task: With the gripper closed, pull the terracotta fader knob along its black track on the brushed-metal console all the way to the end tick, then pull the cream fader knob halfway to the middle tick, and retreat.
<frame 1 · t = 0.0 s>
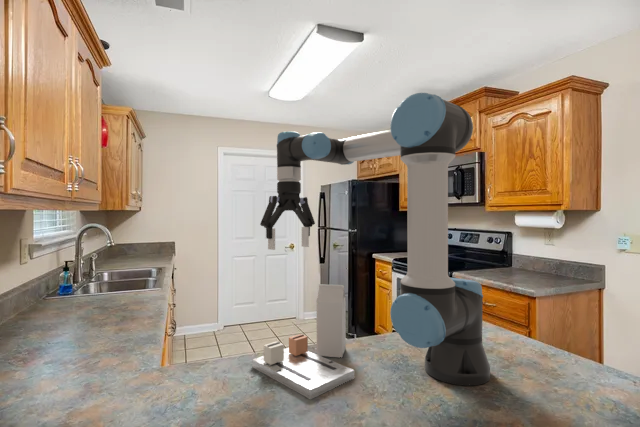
hand: (289, 248, 116), 28 cm above the countertop, fingers open, 13 cm apart
console: (301, 372, 89), on the countertop
fader b: (273, 352, 91), point 4 cm above the countertop, slide at 0.0 cm
fader a: (298, 344, 96), point 4 cm above the countertop, slide at 0.0 cm
milk carton: (331, 353, 102), on the countertop
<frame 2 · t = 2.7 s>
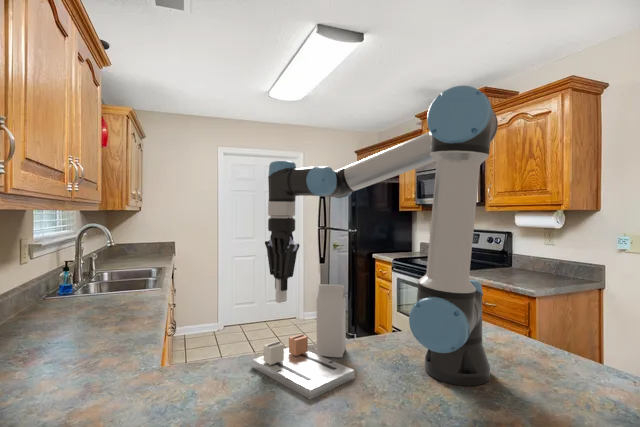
hand: (281, 301, 101), 14 cm above the countertop, fingers closed
nothing on the countertop moved.
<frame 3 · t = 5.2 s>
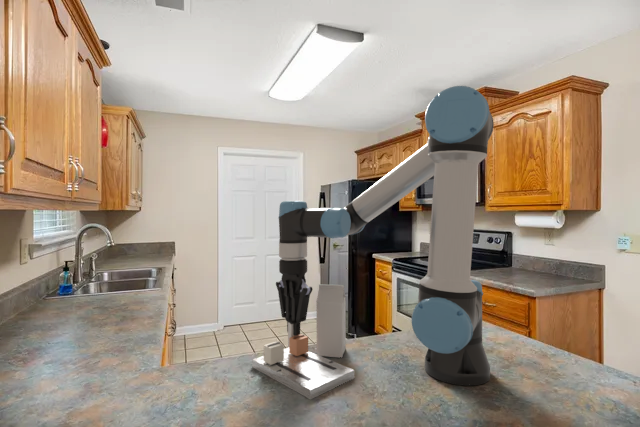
hand: (293, 345, 98), 3 cm above the countertop, fingers closed
fader a: (298, 344, 96), point 4 cm above the countertop, slide at 0.3 cm, touching gripper
everything else where it was.
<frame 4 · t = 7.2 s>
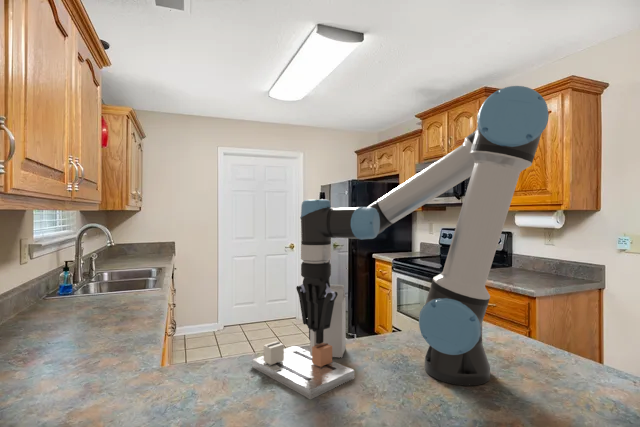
hand: (316, 354, 91), 4 cm above the countertop, fingers closed
fader a: (322, 353, 90), point 4 cm above the countertop, slide at 9.2 cm, touching gripper
everything else where it was.
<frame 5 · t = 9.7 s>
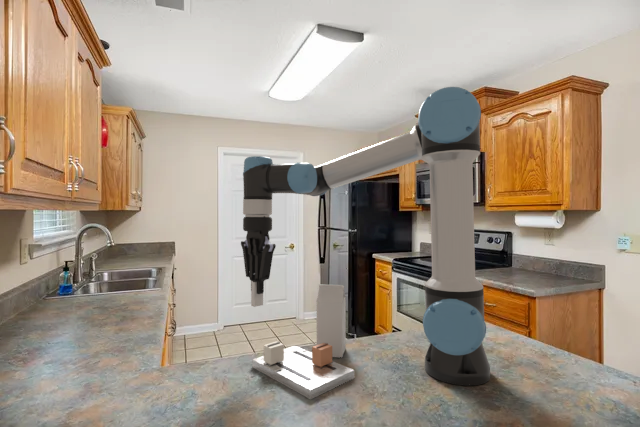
hand: (257, 305, 96), 15 cm above the countertop, fingers closed
fader a: (322, 353, 90), point 4 cm above the countertop, slide at 9.2 cm
everything else where it was.
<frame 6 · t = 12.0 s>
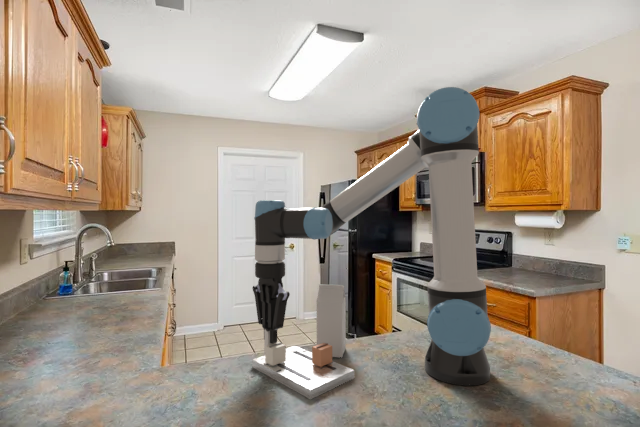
hand: (270, 354, 92), 3 cm above the countertop, fingers closed
fader b: (275, 352, 90), point 4 cm above the countertop, slide at 0.8 cm, touching gripper
everything else where it was.
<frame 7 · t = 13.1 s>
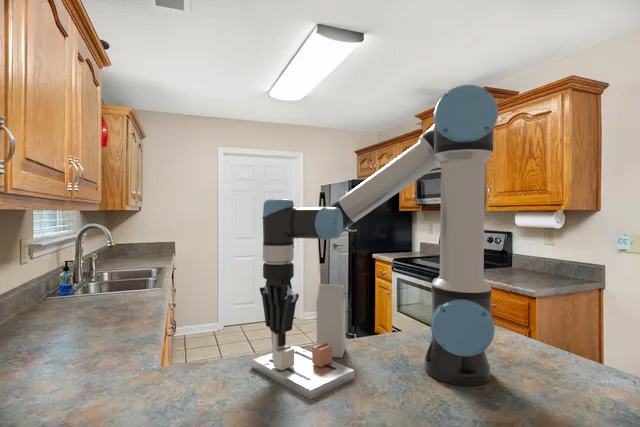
hand: (278, 357, 89), 4 cm above the countertop, fingers closed
fader b: (284, 356, 88), point 4 cm above the countertop, slide at 4.2 cm, touching gripper
everything else where it was.
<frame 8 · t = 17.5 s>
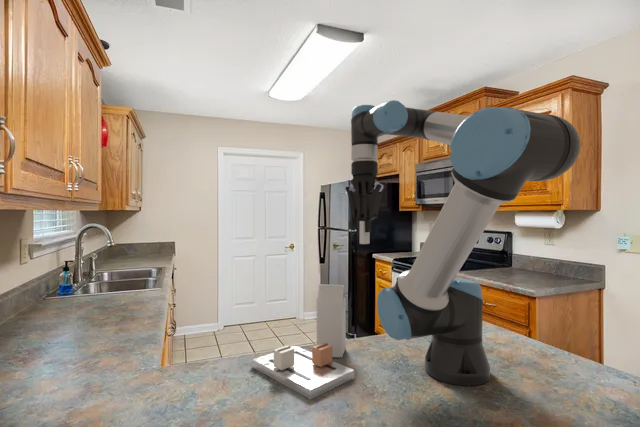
hand: (364, 243, 104), 30 cm above the countertop, fingers closed
fader b: (284, 356, 88), point 4 cm above the countertop, slide at 4.2 cm
everything else where it was.
at the end: fader a slide at 9.2 cm; fader b slide at 4.2 cm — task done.
